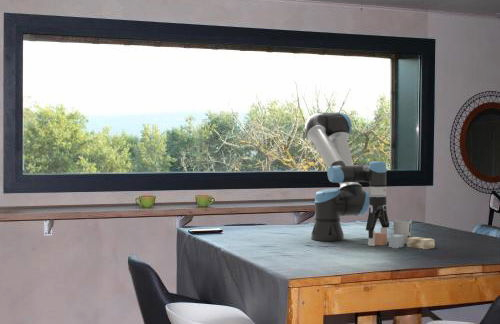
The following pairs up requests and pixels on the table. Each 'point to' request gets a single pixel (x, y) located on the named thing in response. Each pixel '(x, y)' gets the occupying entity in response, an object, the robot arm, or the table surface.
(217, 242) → the table surface
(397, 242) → the slate block
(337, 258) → the table surface
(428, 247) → the maple block
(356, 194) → the robot arm
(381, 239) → the terracotta block
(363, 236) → the table surface
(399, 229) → the cup
